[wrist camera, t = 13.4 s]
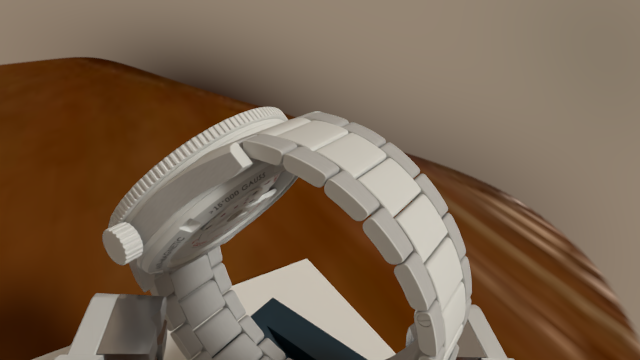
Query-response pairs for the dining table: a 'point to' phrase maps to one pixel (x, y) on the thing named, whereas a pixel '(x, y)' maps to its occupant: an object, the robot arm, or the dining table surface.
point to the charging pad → (298, 310)
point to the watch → (257, 196)
